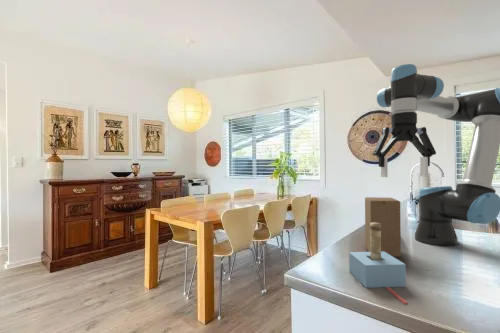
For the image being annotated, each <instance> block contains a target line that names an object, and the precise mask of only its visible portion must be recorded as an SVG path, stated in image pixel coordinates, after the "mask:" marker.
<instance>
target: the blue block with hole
mask: <svg viewBox="0 0 500 333" xmlns="http://www.w3.org/2000/svg"><path fill="white" fill-rule="evenodd" d="M348 257H349V259H348V260H349V261H348V264H349V267H348V268H349V271H348V272H349V273H350V274H351V275H353V277H354V278H355V279H356V280H357V281H358V282H360V284H361V285H362V286H363V287H365V289H368V288H386V287H390V288H396V287H397V288H400V287H403V288H405V287H407V282H406V280H407V279H406V277H407V274H406V270H407V269H406V267H407V266H406V263H404V262H402V261H401V260H399V259H397V257H393V256H391V255H389V254H388V253H386V252H384V251H382V252H381V260H371V259H370V252H369V251H354V252H353V251H352V252H351V251H350V252H348Z"/></svg>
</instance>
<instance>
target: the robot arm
mask: <svg viewBox="0 0 500 333" xmlns="http://www.w3.org/2000/svg"><path fill="white" fill-rule="evenodd" d="M389 82H390V86H387V87H384V88H381V89H380V90H379V91H377V94H376V102H377V104H378V106H380V107H381V108H390V113H391V115H390V117H391V118H390V120H391V121H390V125H391V127H389V126H388V127H386V126H385V127H382V129H381V135H380V137H379V139H378V142H377V143H376V146H375V147H374V149H373V152H372V155H373V156H374V157H377V158H378V167H379V168H380V177H381V178H388V175H389V173H388V172H389V171H388V157H387V156H386V155H388V154H389V152H390V151H391V150H392V148H393V147H394V146H395V145H396V143H398V142H410V143H411V144H412V145H413V147H415V148H416V150H417V151H418V152H419V153H420V155H421V156H420V157H419V160H420V161H419V165H420V166H419V171H420V173H419V174H420V176H419V177H426V178H427V177H429V167H430V165H431V157H433V156H434V155H437V152H436V149H435V147H434V145H433V144H432V141H431V139H430V138H429V135H428V132H427V127H425V126H421V127H417V125H418V124H417V123H418V113H417V112H422V113H428V114H432V115H435V116H436V115H437V117H438V118H440V119H444V120H448V121H454V122H461V123H471V124H473V125H474V130H473V134H472V138H471V143H470V147H469V150H468V156H467V160H466V165H465V169H464V174H463V178H462V181H460V182H458V183H457V184H456V188H455V190H454V188H453V187H452V186H451V185H449V186H448V185H447V186H446V185H444V186H431V187H421V188H420V189H419V194H418V207H419V208H418V212H419V213H418V215H419V216H418V217H419V221H418V224H417V227H416V230H415V232H414V240H416V241H418V242H419V243H420V242H421V243H425V244H427V245H436V246H456V245H458V242H459V238H458V235H457V233H456V230H455V228H454V225H453V220H456V221H461V222H467V223H468V222H469V223H471V224H481V225H486V224H490V223H492V222H493V221H495V220H496V219H497V217H498V216H499V215H500V196H499V195H498V194H497V193H496V189H495V187H493V186H492V184H493V181H494V180H493V178H494V175H495V174H494V173H495V170H496V165H497V160H498V156H499V150H500V87H496V88H494V89H490V90H489V89H488V90H485V91H478V92H475V93H469V94H466V95H460V96H452V95H449V96H448V95H447V96H445V97H444V96H441V94H442V93H443V91H444V86H445V85H444V81H443V80H442V79H441V78H440V77H436V76H434V75H426V74H420V73H418V70H417V66H416V64H413V63H412V64H411V63H406V64H401V65H398V66H397V65H396V66H395V67H394V68H392V69H391V71H390V81H389ZM390 134H391V135H392V136H391V137H390V138H389V141H388V142H387V140H388V137H389V135H390ZM416 134H417V135H418V136H417V135H416ZM386 142H387V143H386Z"/></svg>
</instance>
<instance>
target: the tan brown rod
mask: <svg viewBox="0 0 500 333" xmlns="http://www.w3.org/2000/svg"><path fill="white" fill-rule="evenodd" d="M370 259H371V260H381V224H380V223H375V222H372V223H370Z"/></svg>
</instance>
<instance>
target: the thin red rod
mask: <svg viewBox="0 0 500 333" xmlns="http://www.w3.org/2000/svg"><path fill="white" fill-rule="evenodd" d="M385 289H386V290H387V291H388V292H389V293H390V294H392V296H394V297H395V298H397V300H398V301H400V302H401V303H402V304H403V305H408V301H407V300H406V299H404V298H403V297H402V296H401V295H399V294H398V293H397V292H395V291H394V290H393V289H392V287H385Z"/></svg>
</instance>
